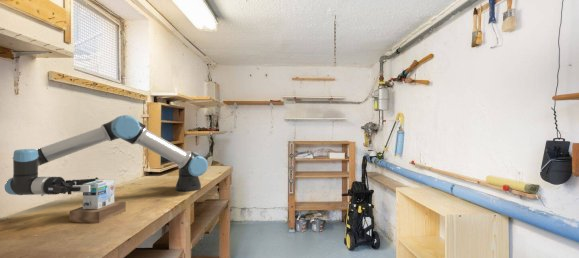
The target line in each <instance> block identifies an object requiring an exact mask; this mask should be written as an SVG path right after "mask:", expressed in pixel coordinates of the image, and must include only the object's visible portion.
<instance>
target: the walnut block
mask: <svg viewBox="0 0 579 258" xmlns="http://www.w3.org/2000/svg"><path fill="white" fill-rule="evenodd" d="M126 202H127V201H118V200H117V201H115V200H114V203H112V204H110V205H107V206H105V207H102V208H100V209H83V206H81V207H77V208H74V209H72V210H69V222H70V223H94V224H97V223H98V224H100V223H102V222H104V221H107V220H109V219H112V218H113V217H116V216H119V215H121V214H123V213H125V212H126V211H127V210H126V206H127V205H126V204H127V203H126Z"/></svg>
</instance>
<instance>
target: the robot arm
mask: <svg viewBox="0 0 579 258" xmlns="http://www.w3.org/2000/svg"><path fill="white" fill-rule="evenodd" d="M117 139H121V140H123V141H125V142H127V143H128V144H131V145H136V144H137V145H140V146H142V147H144V148H146V149H148V151H151V152H152V153H155V154H157V155H158V156H160V157H162V158H165V159H166V160H167V161H170V162H172V163H174V164H176V165H177V168H178V178H177V181H176V184H175V191H177V192H192V191H198V190H201V189H202V183H201V182H200V181H201V180H200V178H199V177H200V176H202V175H204V174H205V173H206V172H207V170H208V168H209V166H208V165H209V162H208V161H207V159H206V158H205V157H204V156H202V155H199V153H198V152H195V151H194V152H193V151H191V150H187V151H186V150H184V149H182V148H180V147H179V146H177V145H175V144H173V143H172V142H170V141H168V140H166V139H164V138H163V137H161V136H159V135H157V134H156V133H154V132H152V131H151V130H148V127H147V125H146V124H144V123H142V122H141V121H139V120H138V119H137V118H136V117H134V116H131V115H127V114H124V115H120V116H117V117H116V118H114V119H112V120H110V121H108V122H106V123H103V124H101V126H100V127H97V128H95V129H91V130H89V131H85V132H83V133H80V134H77V135H73V136H72V137H68V138H66V139H62V140H60V141H58V142H53V143H52V144H49V145H45V146H42V147H40V149H39V148H37V149H38V150H36V149H35V148H25V149H23V148H22V149H15V150H14V151H13V157H12V161H13V163H12V164H13V165H12V166H13V169H12V170H13V171H12V173H13V174H12V177H10V178H9V179H8V181H7V180H6V182H7V183H6V182H5V184H4V190H5V192H6V193H7V194H9V195H12V196H13V195H14V196H15V195H17V196H26V195H27V196H29V195H30V196H32V195H33V196H34V195H35V196H36V195H37V196H38V195H40V196H41V197H43V196H45V195H46V196H47V195H53V196H55V195H59V194H62V195H65V194H67V195H68V196H69V195H72V193H83V192H90V185H83V184H85V183H89V182H93V181H97V180H100V179H101V178H99V177H96V176H95V178H84V179H83V178H82V179H72V180H71V179H67V180H65V179H64V178H63V177H62V176H39V166H42V165H44V164H47V163H50V162H52V161H55V160H58V159H60V158H63V157H65V156H68V155H71V154H74V153H77V152H79V151H83V150H85V149H87V148H90V147H93V146H96V145H99V144H101V143H104V142H107V141H109V142H112V141H116V140H117ZM105 179H106V180H112V179H111V178H105Z"/></svg>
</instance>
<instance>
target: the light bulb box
mask: <svg viewBox="0 0 579 258" xmlns="http://www.w3.org/2000/svg"><path fill="white" fill-rule="evenodd" d="M99 179H100V180H97V181H93V182H89V183H85V184H83V185H90V192H82V207H83V209H100V208H102V207H105V206H107V205H110V204H112V203H114V201H115V179H111V180H106V179H107V178H99Z"/></svg>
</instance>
